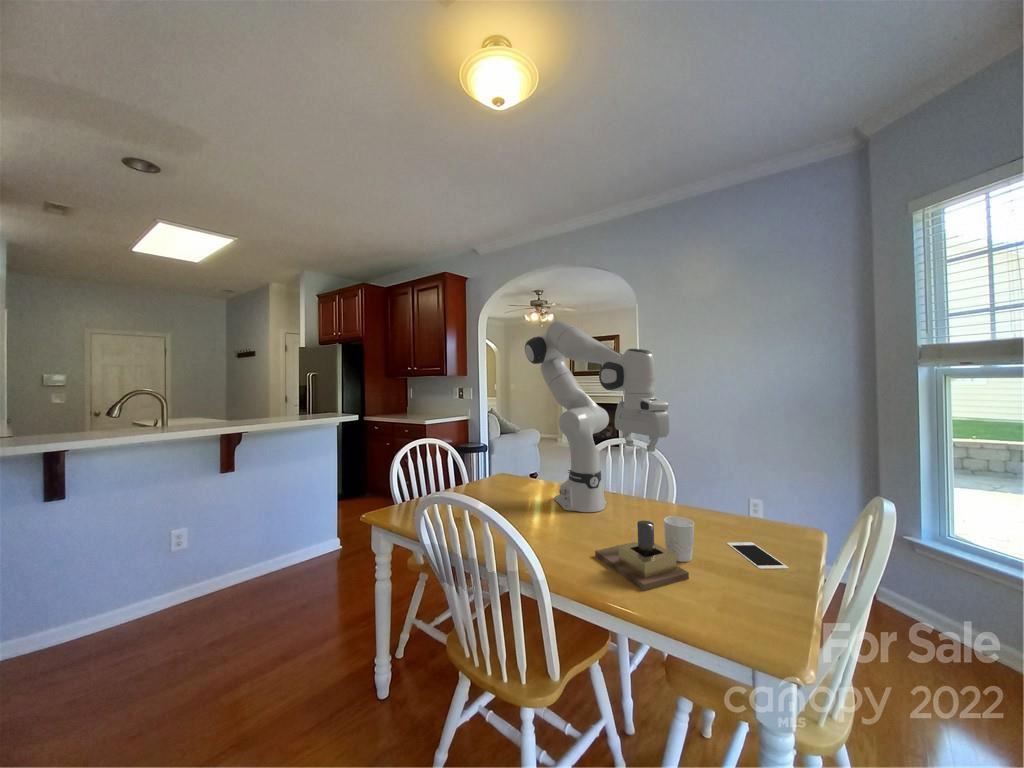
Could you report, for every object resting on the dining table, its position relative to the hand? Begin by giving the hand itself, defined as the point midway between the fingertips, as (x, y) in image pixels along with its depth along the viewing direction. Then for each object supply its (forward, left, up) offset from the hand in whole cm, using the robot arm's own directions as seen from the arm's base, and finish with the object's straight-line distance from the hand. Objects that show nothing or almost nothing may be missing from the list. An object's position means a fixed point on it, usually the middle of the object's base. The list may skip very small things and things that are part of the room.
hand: (639, 448), depth 118 cm
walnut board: (+11, -10, -29) cm, 32 cm away
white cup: (+11, +4, -29) cm, 31 cm away
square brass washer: (+14, -10, -27) cm, 32 cm away
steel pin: (+14, -10, -27) cm, 32 cm away
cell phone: (+19, +24, -30) cm, 43 cm away
